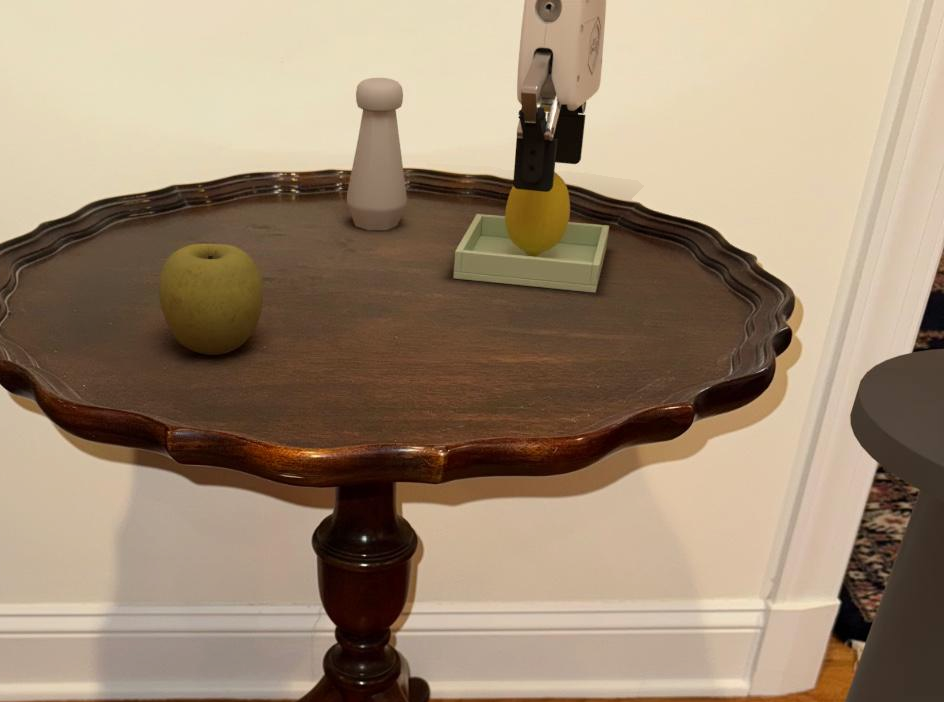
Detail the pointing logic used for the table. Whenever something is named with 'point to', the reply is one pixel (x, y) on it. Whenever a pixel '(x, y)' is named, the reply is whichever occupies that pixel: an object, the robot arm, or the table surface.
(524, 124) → the robot arm
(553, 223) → the lemon
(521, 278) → the dish
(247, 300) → the apple
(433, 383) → the table surface
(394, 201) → the salt shaker
